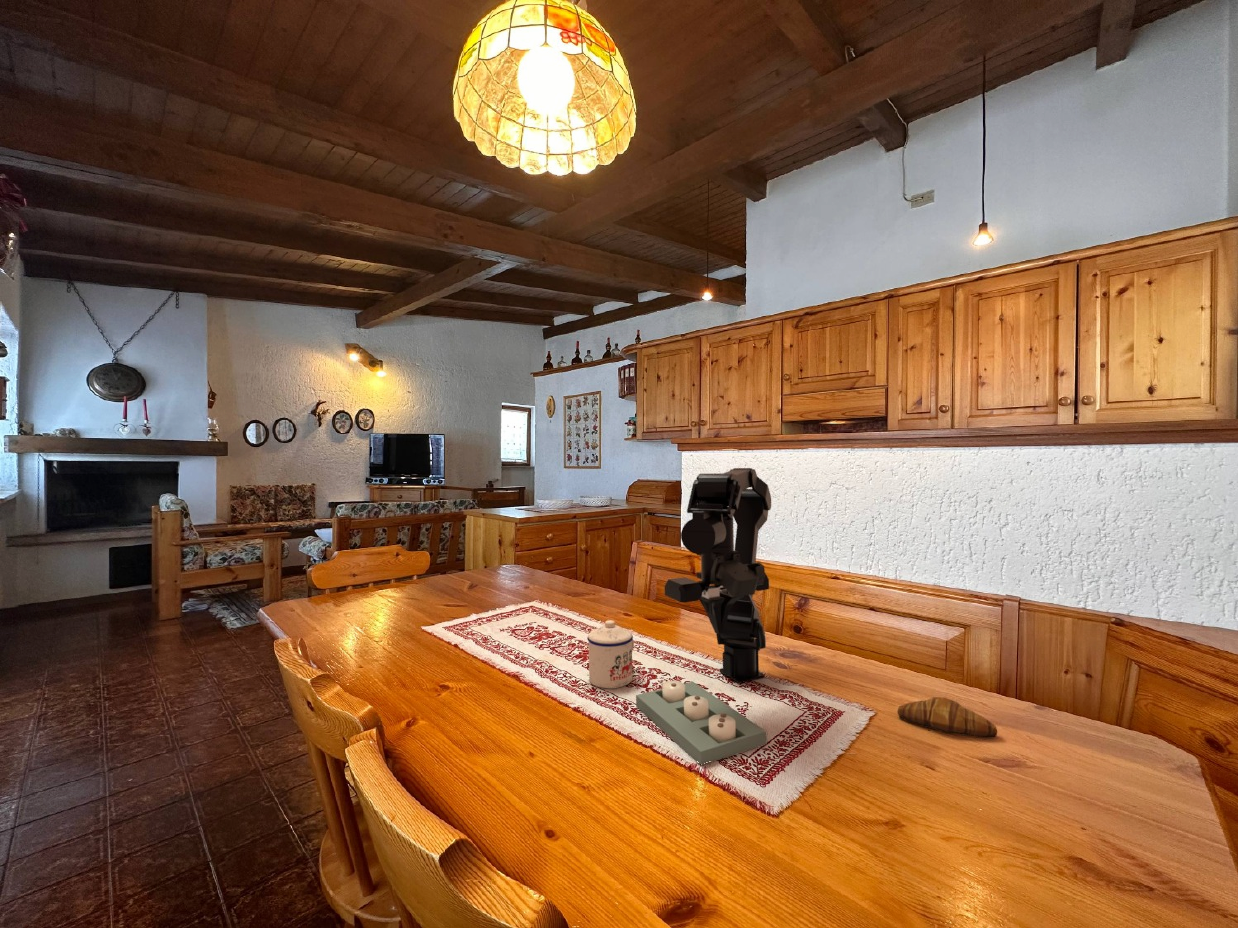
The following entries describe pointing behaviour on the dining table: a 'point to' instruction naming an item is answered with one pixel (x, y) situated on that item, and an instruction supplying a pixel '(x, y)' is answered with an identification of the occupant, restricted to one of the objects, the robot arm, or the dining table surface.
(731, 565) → the robot arm
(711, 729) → the button three
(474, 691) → the dining table surface
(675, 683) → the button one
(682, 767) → the dining table surface
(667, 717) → the board
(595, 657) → the teacup with lid
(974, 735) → the croissant
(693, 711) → the button two
